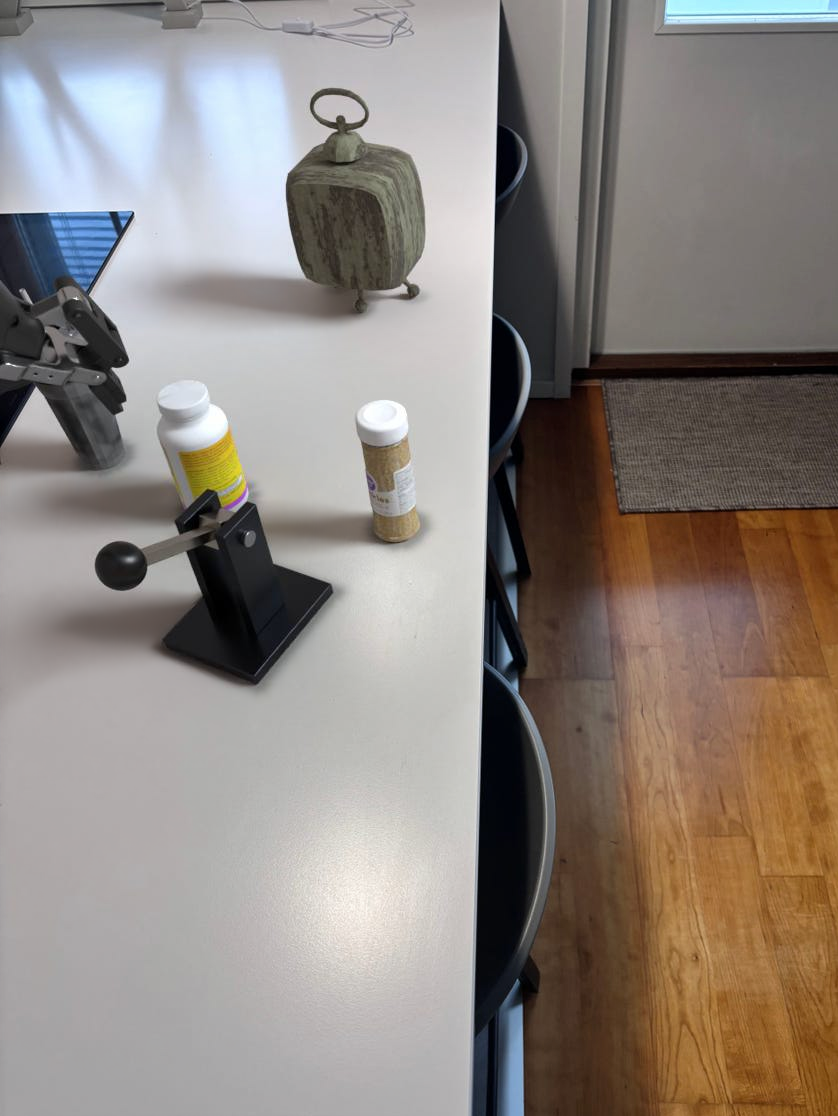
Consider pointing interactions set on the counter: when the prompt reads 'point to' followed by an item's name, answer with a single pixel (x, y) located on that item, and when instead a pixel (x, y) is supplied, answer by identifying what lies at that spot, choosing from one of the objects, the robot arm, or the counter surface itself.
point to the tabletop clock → (356, 210)
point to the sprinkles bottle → (388, 469)
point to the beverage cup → (83, 418)
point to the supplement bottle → (199, 445)
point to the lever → (153, 552)
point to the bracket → (242, 597)
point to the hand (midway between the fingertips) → (54, 429)
